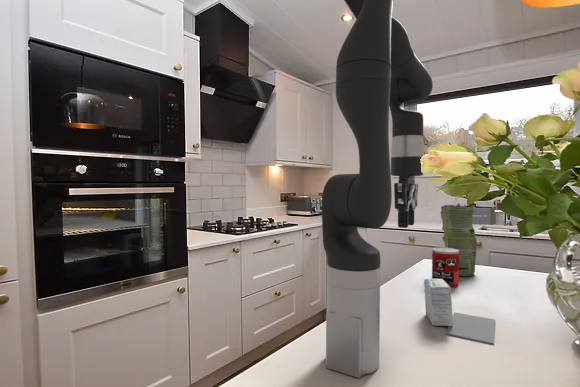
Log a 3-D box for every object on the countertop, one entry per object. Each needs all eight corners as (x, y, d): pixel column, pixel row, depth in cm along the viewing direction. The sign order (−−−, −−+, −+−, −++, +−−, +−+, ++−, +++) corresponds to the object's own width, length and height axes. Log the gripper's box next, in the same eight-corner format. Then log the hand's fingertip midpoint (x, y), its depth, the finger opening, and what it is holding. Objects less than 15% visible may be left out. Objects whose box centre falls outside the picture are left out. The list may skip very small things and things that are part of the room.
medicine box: (453, 327, 75) (451, 287, 75) (431, 326, 76) (430, 287, 76) (444, 314, 83) (443, 278, 83) (425, 313, 84) (423, 278, 84)
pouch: (439, 274, 120) (440, 203, 120) (443, 267, 130) (444, 201, 130) (475, 279, 115) (476, 204, 114) (476, 271, 125) (477, 202, 124)
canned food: (427, 283, 109) (427, 249, 109) (438, 279, 115) (439, 246, 114) (452, 289, 104) (452, 253, 103) (462, 284, 109) (463, 249, 109)
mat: (493, 344, 68) (493, 343, 68) (446, 334, 72) (446, 333, 72) (495, 320, 80) (495, 319, 80) (454, 313, 84) (454, 312, 84)
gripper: (417, 153, 74) (416, 230, 75) (429, 157, 87) (428, 224, 87) (382, 154, 78) (381, 228, 79) (398, 158, 91) (398, 222, 91)
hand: (406, 225), depth 83 cm, fingers open, 5 cm apart
